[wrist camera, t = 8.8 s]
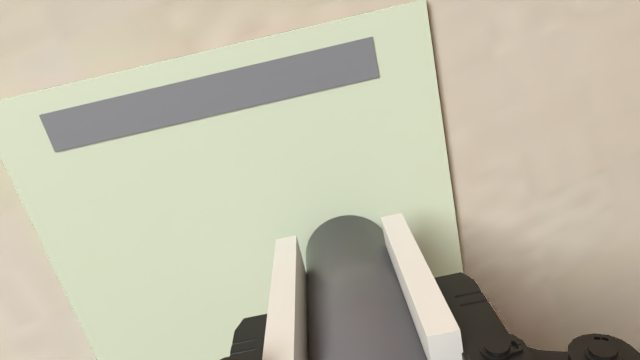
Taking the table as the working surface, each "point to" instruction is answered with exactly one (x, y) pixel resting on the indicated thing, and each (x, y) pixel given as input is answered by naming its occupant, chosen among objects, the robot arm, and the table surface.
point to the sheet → (228, 174)
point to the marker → (356, 296)
